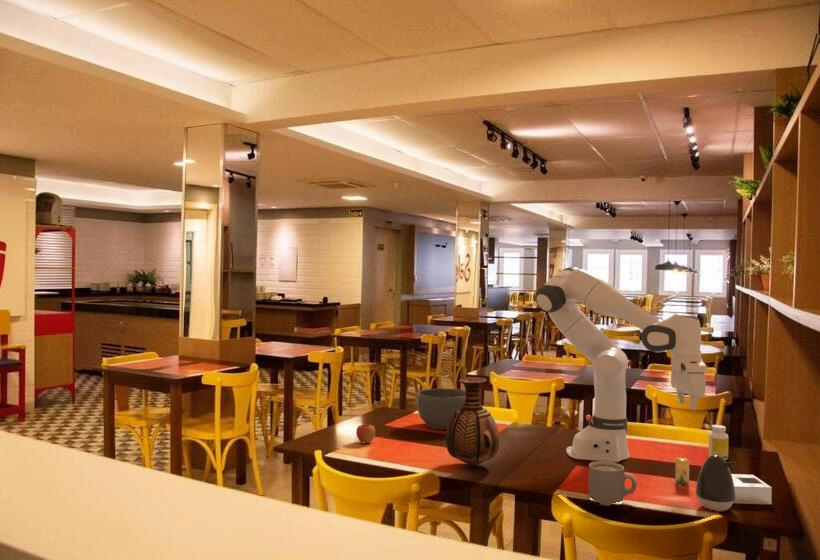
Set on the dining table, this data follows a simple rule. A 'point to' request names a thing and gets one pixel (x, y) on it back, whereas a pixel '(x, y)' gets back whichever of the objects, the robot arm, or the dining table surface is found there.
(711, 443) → the pill bottle
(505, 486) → the dining table surface
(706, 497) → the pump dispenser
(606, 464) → the coffee mug
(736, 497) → the jig block
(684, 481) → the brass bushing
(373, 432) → the apple
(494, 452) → the vase
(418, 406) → the bowl
